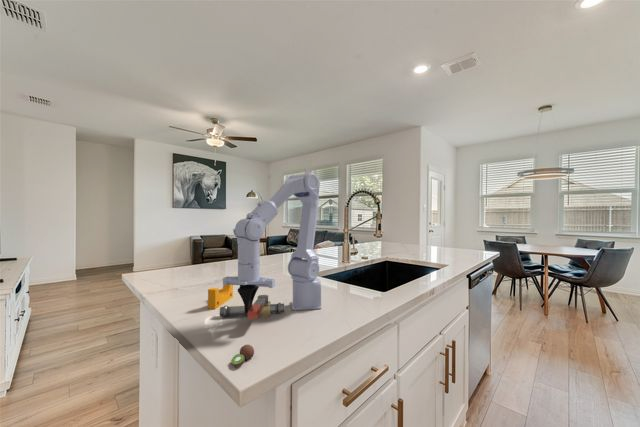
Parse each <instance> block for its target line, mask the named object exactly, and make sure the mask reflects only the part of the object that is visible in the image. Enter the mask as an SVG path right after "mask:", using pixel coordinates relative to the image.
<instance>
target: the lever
mask: <svg viewBox="0 0 640 427" xmlns="http://www.w3.org/2000/svg"><path fill="white" fill-rule="evenodd" d="M268 302H269V295H267V294H261V295H258V296H257V299H256V301H254V303H252V306H251V308H250V309H249V310H248V315H247V320H257V319H258V318H259V317H258V316H259V315H260V313H261V311H262V309H263V308H264V306H265V305H266V304H268Z"/></svg>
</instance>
